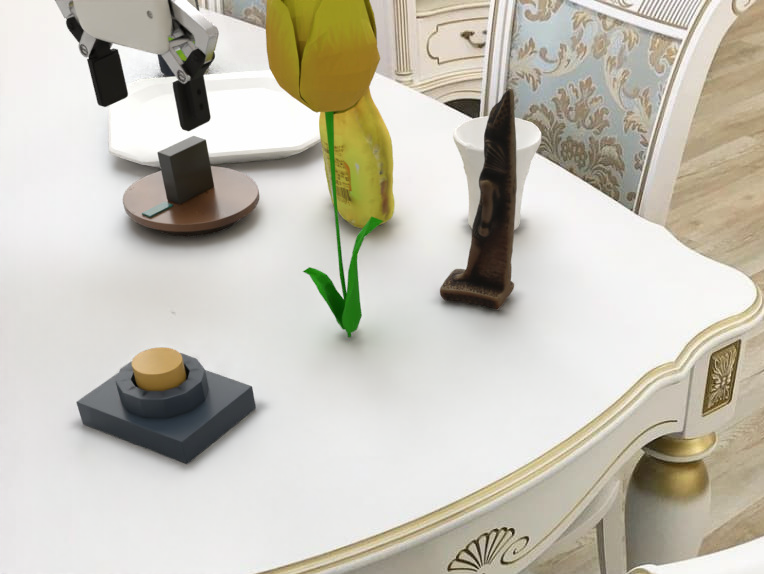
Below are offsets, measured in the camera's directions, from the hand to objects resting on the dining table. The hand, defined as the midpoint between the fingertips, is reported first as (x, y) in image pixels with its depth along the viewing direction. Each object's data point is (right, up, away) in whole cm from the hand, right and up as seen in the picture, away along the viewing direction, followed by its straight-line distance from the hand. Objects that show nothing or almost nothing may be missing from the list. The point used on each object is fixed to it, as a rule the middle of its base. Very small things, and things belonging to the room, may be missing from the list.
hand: (154, 113), depth 98 cm
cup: (+30, -3, +20) cm, 36 cm away
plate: (-4, +15, +36) cm, 39 cm away
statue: (+29, -14, +9) cm, 33 cm away
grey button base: (+3, -28, -5) cm, 28 cm away
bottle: (+15, -1, +21) cm, 26 cm away
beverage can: (-11, +28, +48) cm, 57 cm away
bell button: (+3, -25, -8) cm, 27 cm away
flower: (+17, -19, +4) cm, 26 cm away
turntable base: (-2, -1, +20) cm, 20 cm away
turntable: (-2, 0, +19) cm, 19 cm away
